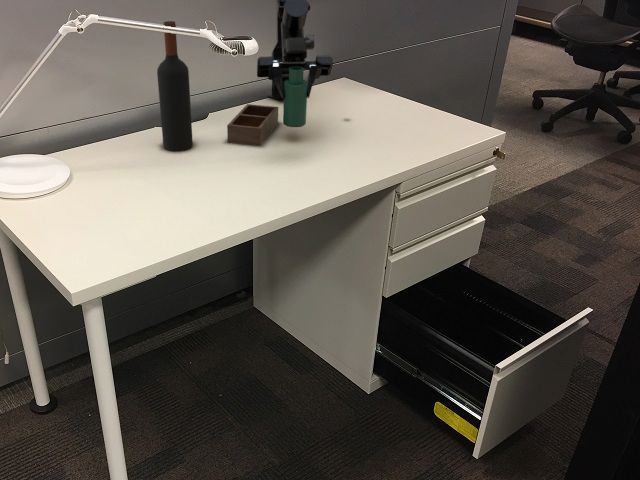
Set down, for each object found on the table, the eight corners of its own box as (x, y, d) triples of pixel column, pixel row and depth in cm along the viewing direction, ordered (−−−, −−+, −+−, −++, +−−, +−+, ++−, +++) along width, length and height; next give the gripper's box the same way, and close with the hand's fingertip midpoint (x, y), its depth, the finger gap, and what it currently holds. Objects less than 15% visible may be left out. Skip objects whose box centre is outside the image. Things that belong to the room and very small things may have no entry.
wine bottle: (157, 148, 171) (146, 24, 153) (173, 138, 176) (164, 17, 159) (182, 153, 168) (174, 27, 150) (198, 143, 173) (191, 20, 156)
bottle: (278, 123, 172) (279, 67, 164) (294, 117, 175) (296, 63, 167) (294, 129, 169) (296, 73, 160) (310, 123, 172) (313, 68, 163)
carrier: (247, 120, 187) (247, 103, 184) (277, 123, 184) (278, 106, 182) (227, 142, 173) (227, 125, 171) (260, 145, 171) (260, 128, 168)
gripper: (257, 22, 161) (260, 83, 159) (334, 21, 162) (338, 81, 159) (255, 47, 172) (258, 104, 169) (327, 46, 172) (331, 102, 170)
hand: (295, 97), depth 167 cm, fingers closed on bottle, 6 cm apart
